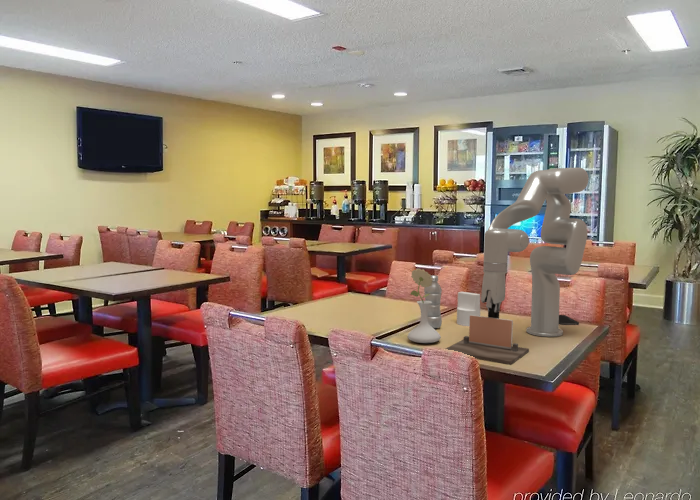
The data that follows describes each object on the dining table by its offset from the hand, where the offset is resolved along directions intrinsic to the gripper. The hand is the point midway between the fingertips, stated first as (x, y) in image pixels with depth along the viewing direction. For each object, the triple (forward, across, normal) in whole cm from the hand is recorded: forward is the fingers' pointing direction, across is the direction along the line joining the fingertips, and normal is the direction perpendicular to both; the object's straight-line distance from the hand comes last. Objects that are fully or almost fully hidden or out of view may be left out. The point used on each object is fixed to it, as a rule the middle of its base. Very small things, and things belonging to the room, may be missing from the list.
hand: (493, 323), depth 181 cm
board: (+8, +6, 0) cm, 10 cm away
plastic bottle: (+8, -14, -29) cm, 33 cm away
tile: (+2, +2, 0) cm, 3 cm away
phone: (+7, -55, +8) cm, 56 cm away
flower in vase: (+9, +5, -23) cm, 25 cm away
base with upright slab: (+8, -30, -21) cm, 37 cm away
